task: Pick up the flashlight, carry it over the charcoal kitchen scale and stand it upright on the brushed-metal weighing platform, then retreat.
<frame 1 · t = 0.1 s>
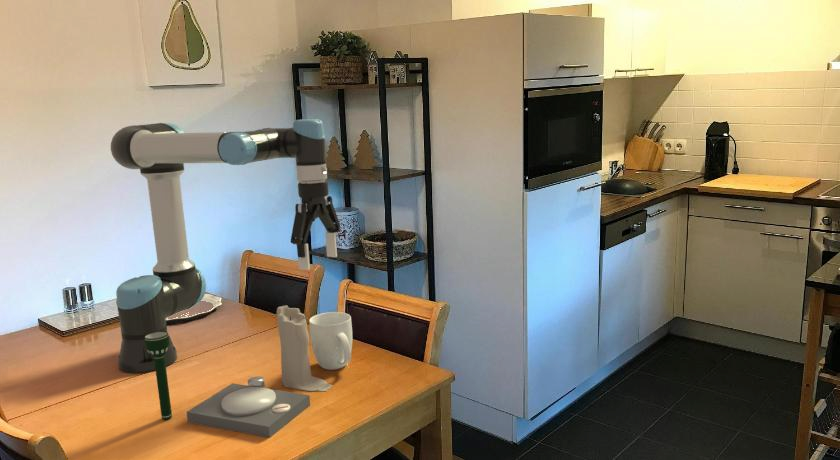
hand: (318, 262, 177), 28 cm above the table, fingers open, 13 cm apart
candle: (307, 384, 171), on the table
mug: (335, 367, 181), on the table
plate: (178, 313, 235), on the table
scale: (250, 413, 156), on the table
flashlight: (167, 419, 155), on the table
spacer: (256, 388, 169), on the table
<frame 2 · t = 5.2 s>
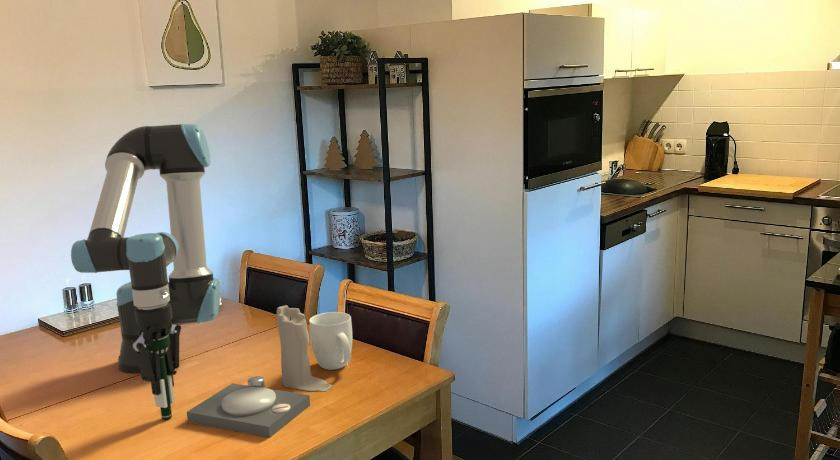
hand: (165, 404, 155), 3 cm above the table, fingers closed on flashlight, 1 cm apart
flashlight: (167, 419, 155), on the table, touching gripper
everything else where it was.
when the fingers open (8 cm above the table, at t = 10.1 s): flashlight stays where it is, resting on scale.
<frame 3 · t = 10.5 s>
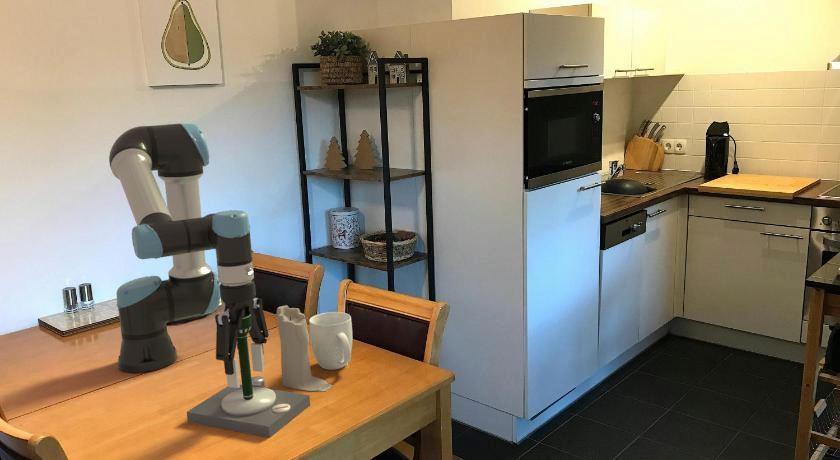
hand: (246, 378, 154), 9 cm above the table, fingers open, 8 cm apart
flashlight: (248, 399, 155), point 4 cm above the table, touching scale
everything else where it was.
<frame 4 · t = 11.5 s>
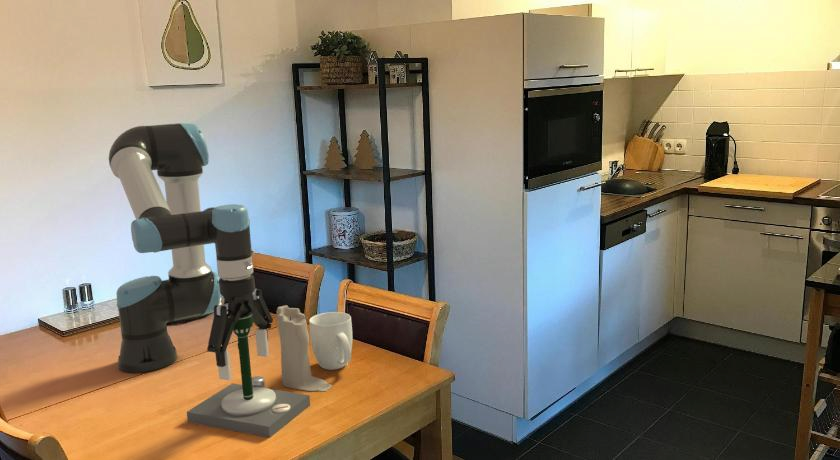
hand: (245, 367, 154), 11 cm above the table, fingers open, 13 cm apart
nothing on the table moved.
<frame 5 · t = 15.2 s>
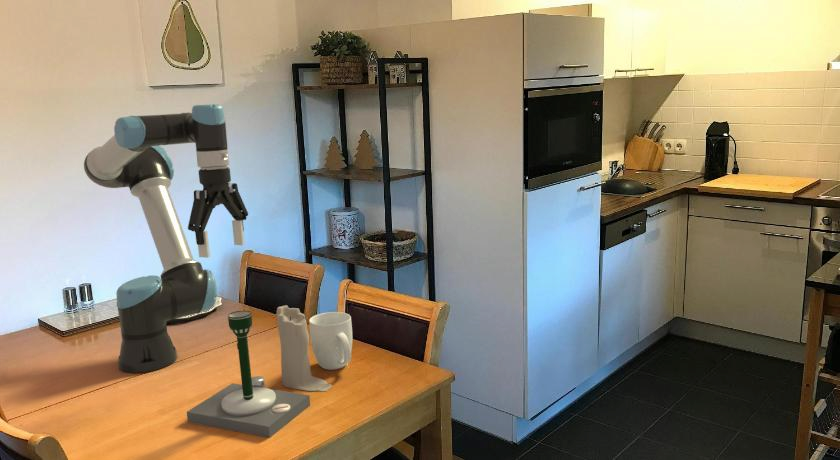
hand: (222, 250, 174), 33 cm above the table, fingers open, 13 cm apart
nothing on the table moved.
at the end: flashlight 0.1 cm from the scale (horizontally); flashlight tilted 0°; the gripper is holding nothing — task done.
